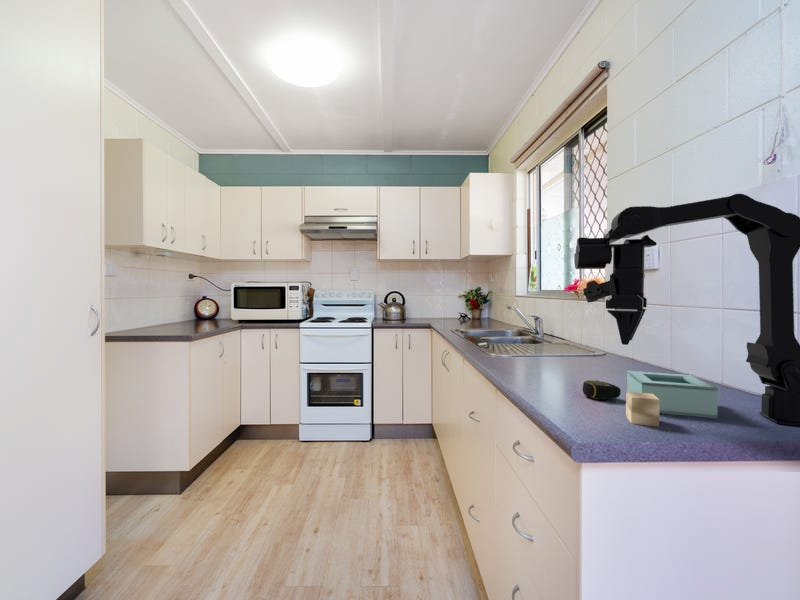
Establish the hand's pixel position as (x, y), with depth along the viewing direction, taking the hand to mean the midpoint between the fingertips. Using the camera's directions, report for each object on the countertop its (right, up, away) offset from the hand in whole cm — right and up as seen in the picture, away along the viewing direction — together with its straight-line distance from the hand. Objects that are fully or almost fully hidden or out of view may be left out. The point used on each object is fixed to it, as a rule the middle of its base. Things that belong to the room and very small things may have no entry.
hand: (627, 342), depth 82 cm
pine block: (-2, -14, -8) cm, 17 cm away
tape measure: (-1, -14, +9) cm, 17 cm away
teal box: (+10, -14, +2) cm, 18 cm away
